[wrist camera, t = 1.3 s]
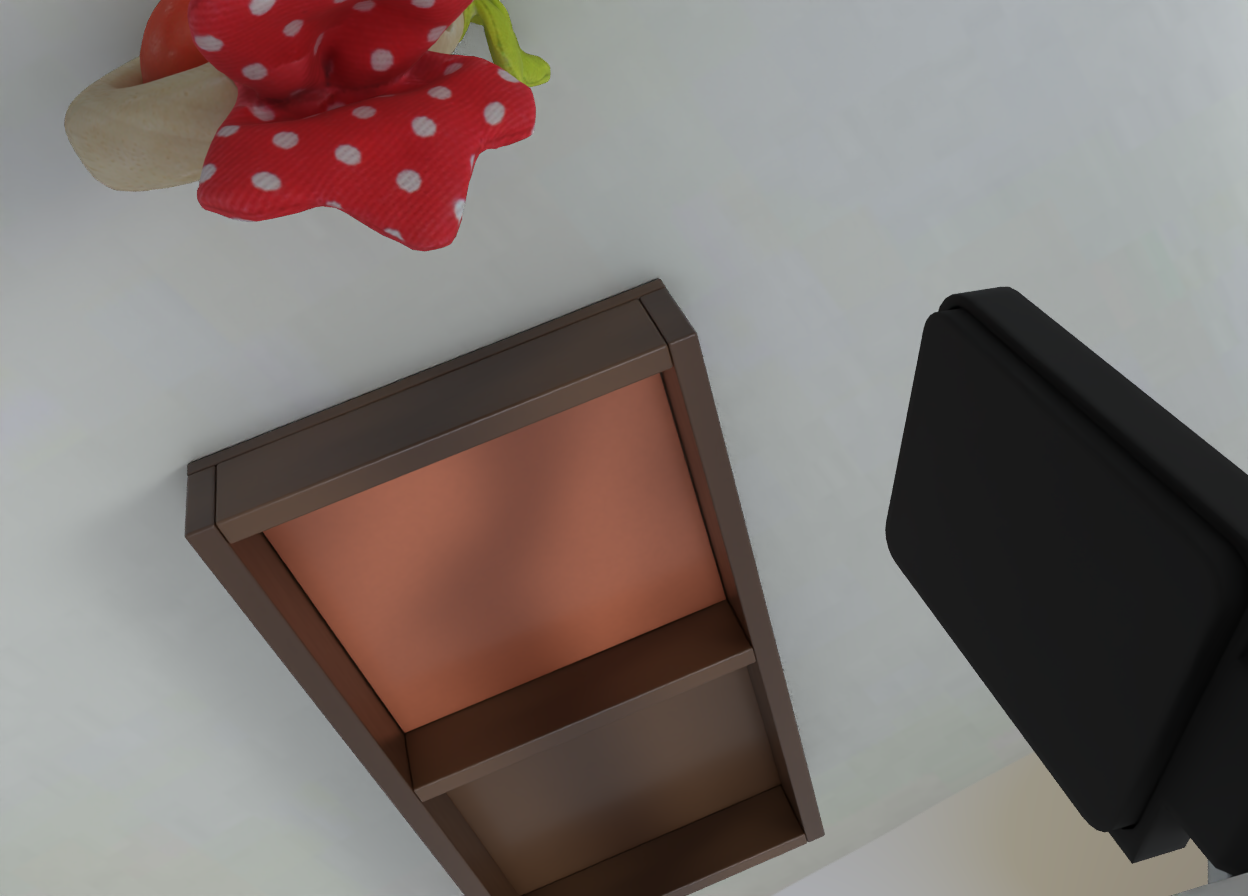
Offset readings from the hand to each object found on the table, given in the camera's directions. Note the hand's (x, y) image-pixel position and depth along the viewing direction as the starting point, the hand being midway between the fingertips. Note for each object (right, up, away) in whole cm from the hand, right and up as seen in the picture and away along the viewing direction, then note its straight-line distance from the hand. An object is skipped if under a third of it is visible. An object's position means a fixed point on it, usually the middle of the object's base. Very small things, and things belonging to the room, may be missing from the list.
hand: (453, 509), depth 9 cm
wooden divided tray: (-1, -7, +27) cm, 28 cm away
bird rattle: (-5, +10, +13) cm, 17 cm away
